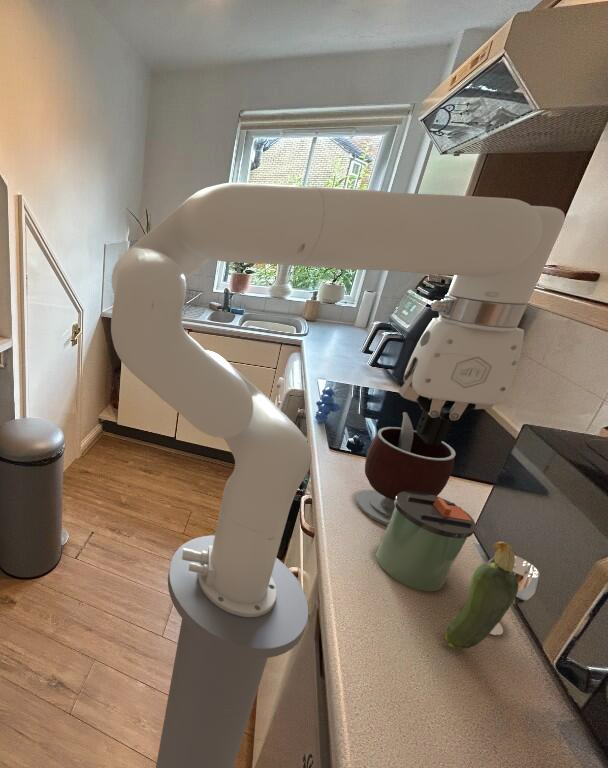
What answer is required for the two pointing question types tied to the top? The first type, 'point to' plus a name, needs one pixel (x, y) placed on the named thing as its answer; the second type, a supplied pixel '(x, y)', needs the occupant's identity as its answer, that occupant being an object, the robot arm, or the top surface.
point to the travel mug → (421, 541)
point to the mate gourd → (402, 469)
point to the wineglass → (521, 585)
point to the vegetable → (485, 600)
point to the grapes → (326, 405)
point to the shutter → (451, 510)
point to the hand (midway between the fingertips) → (427, 439)
